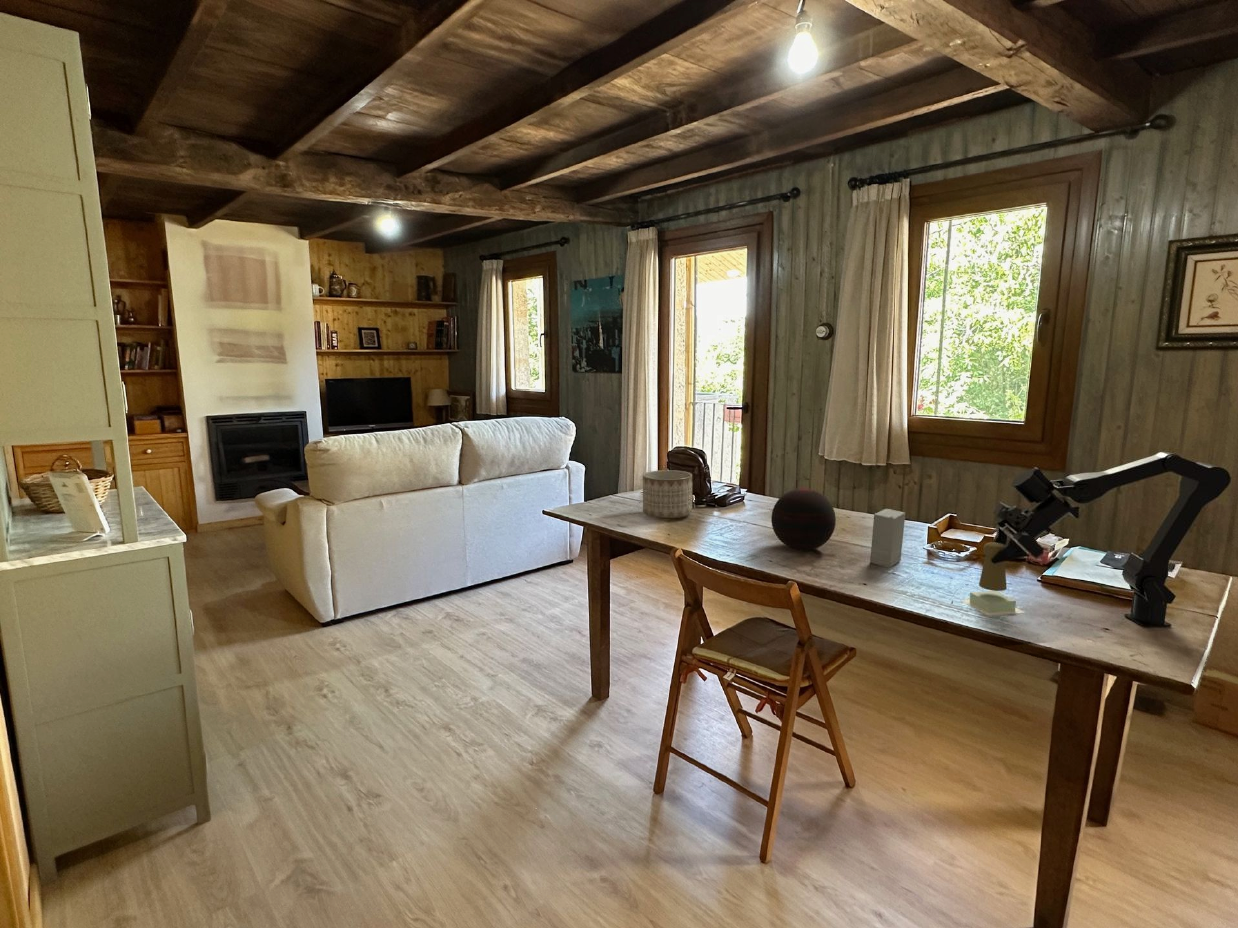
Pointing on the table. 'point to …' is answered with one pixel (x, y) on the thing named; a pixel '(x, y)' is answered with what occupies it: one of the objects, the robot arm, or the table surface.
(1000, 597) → the tower block
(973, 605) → the tower slab
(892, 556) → the skincare box
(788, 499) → the decorative orb
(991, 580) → the olive pawn shaped peg
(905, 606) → the table surface
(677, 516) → the planter
